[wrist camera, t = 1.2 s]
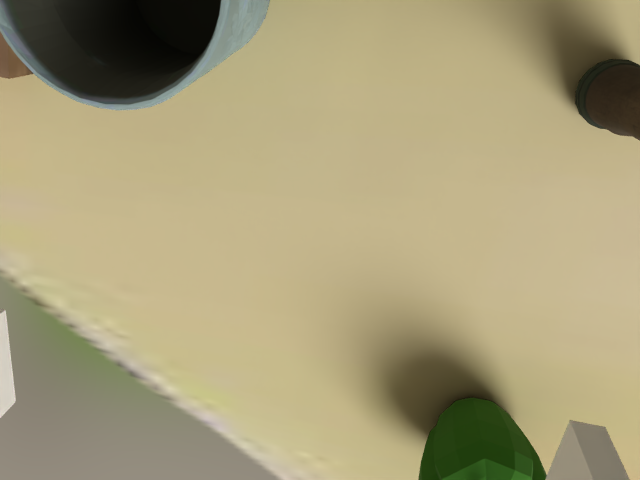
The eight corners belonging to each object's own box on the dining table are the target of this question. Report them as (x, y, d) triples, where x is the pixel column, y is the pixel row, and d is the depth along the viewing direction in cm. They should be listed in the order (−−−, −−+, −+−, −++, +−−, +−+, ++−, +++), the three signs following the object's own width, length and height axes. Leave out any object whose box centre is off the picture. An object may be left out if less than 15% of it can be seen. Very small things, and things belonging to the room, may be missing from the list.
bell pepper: (498, 484, 44) (525, 611, 35) (400, 446, 44) (402, 564, 35) (554, 405, 41) (600, 523, 32) (448, 364, 41) (464, 470, 31)
